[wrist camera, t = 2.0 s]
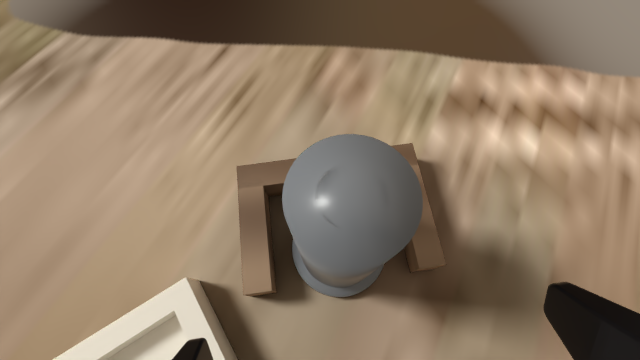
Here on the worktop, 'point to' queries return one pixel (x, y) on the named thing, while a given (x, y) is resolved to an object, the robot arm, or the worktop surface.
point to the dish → (158, 329)
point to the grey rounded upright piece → (349, 211)
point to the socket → (256, 224)
